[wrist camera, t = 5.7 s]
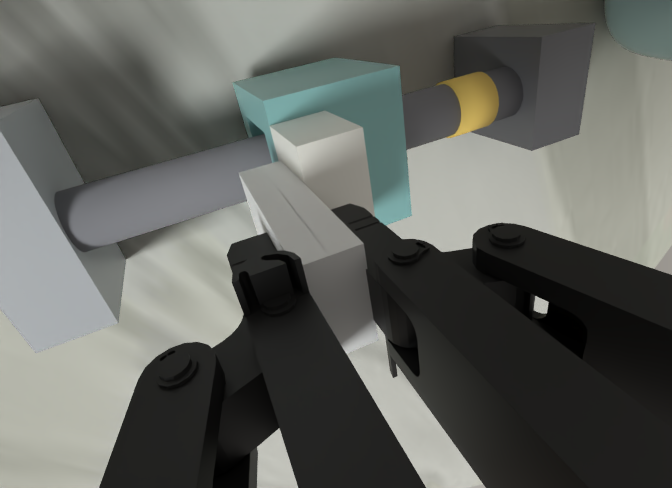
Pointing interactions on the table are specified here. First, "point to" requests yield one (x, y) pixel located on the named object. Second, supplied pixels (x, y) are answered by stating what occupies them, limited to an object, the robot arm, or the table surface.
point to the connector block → (533, 77)
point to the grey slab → (47, 239)
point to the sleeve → (335, 131)
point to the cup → (641, 26)
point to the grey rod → (259, 164)
